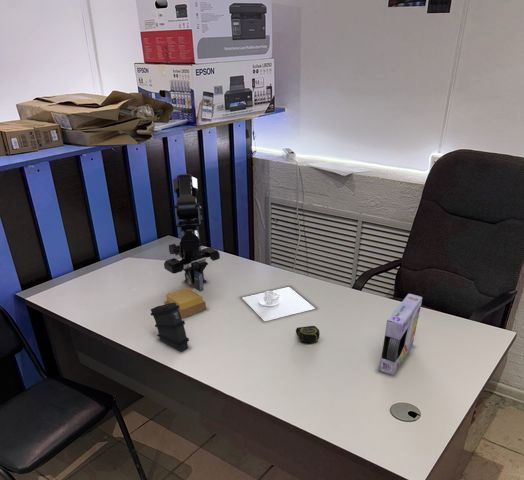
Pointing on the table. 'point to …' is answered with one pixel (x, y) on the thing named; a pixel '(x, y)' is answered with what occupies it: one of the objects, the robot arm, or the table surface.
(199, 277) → the mini dv tape
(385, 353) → the cake pan box
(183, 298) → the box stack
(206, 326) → the table surface
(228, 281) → the table surface
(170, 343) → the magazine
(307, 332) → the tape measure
